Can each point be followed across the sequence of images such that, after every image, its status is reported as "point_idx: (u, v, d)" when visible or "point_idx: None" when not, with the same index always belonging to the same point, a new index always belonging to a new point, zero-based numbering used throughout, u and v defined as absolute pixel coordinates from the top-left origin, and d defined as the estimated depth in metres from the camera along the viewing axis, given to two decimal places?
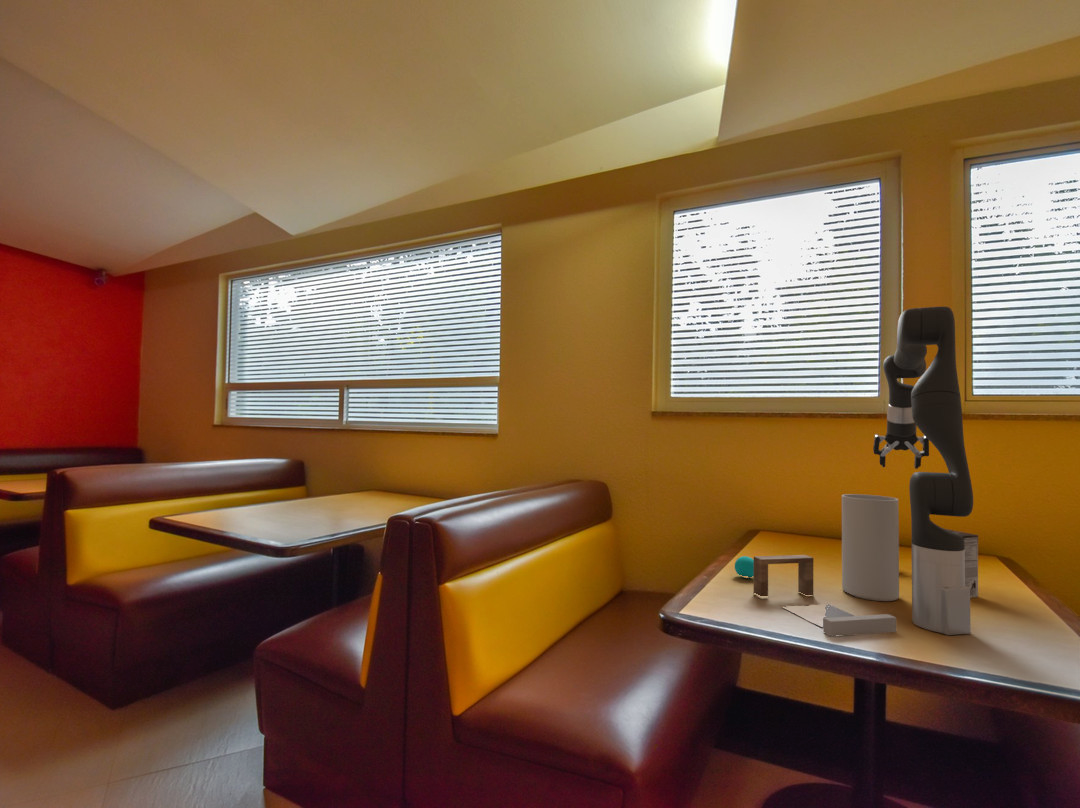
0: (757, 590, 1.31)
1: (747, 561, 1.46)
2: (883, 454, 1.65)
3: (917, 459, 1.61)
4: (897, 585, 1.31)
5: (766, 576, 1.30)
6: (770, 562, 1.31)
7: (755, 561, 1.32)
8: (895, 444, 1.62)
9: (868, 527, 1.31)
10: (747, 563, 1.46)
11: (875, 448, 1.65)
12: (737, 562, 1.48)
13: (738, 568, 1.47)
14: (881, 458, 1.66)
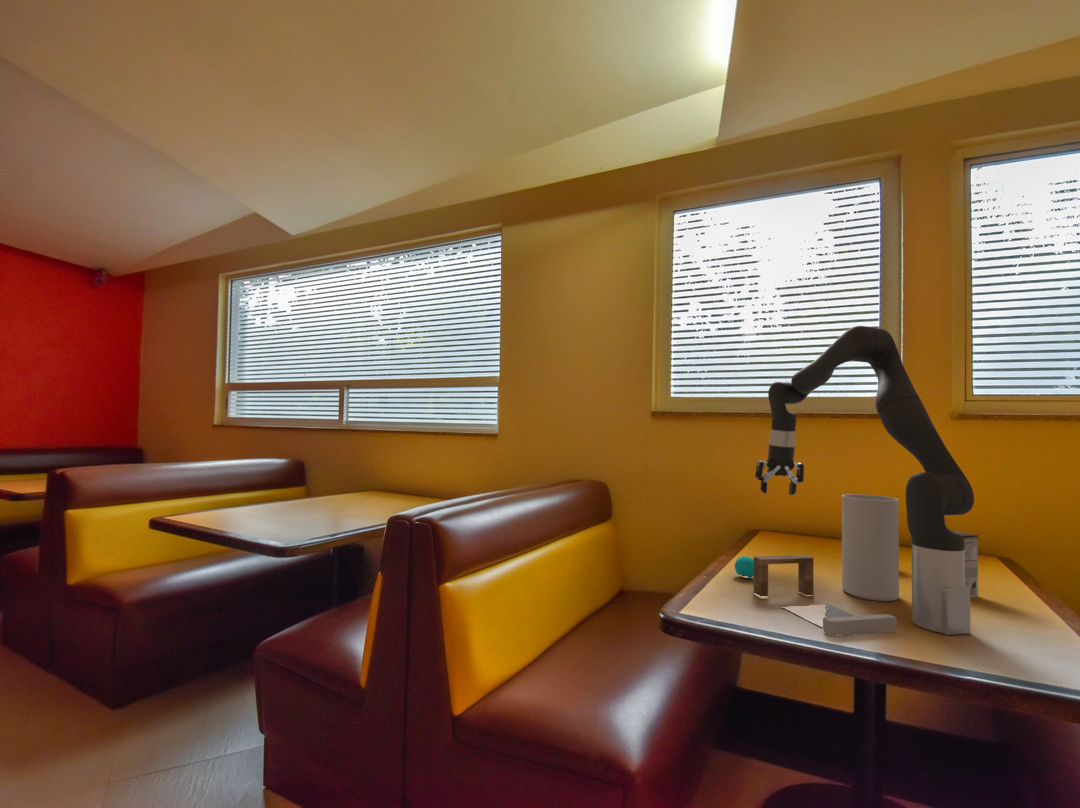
0: (757, 590, 1.31)
1: (747, 561, 1.46)
2: (765, 479, 1.67)
3: (793, 485, 1.67)
4: (897, 585, 1.31)
5: (766, 576, 1.30)
6: (770, 562, 1.31)
7: (755, 561, 1.32)
8: (777, 469, 1.66)
9: (868, 527, 1.31)
10: (747, 563, 1.46)
11: (759, 473, 1.67)
12: (737, 562, 1.48)
13: (738, 568, 1.47)
14: (763, 484, 1.68)
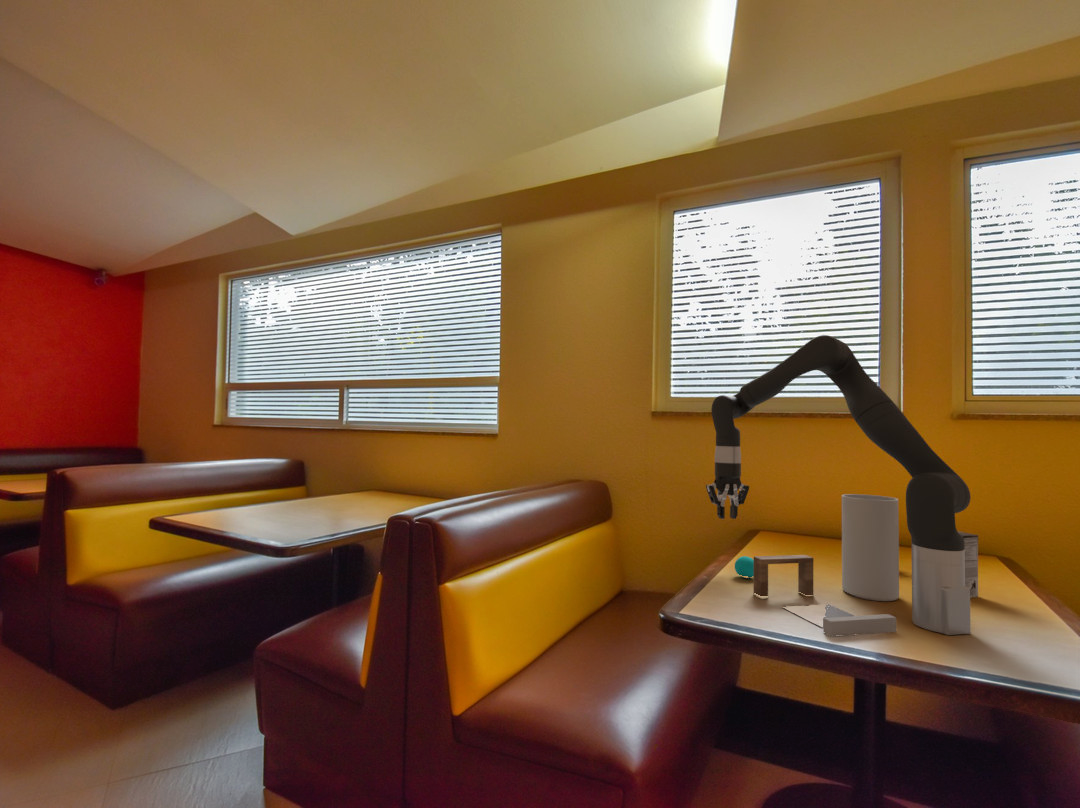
0: (757, 590, 1.31)
1: (747, 561, 1.46)
2: (722, 503, 1.57)
3: (735, 508, 1.58)
4: (897, 585, 1.31)
5: (766, 576, 1.30)
6: (770, 562, 1.31)
7: (755, 561, 1.32)
8: (727, 488, 1.57)
9: (868, 527, 1.32)
10: (747, 563, 1.46)
11: (714, 498, 1.56)
12: (737, 562, 1.48)
13: (738, 568, 1.47)
14: (720, 509, 1.57)
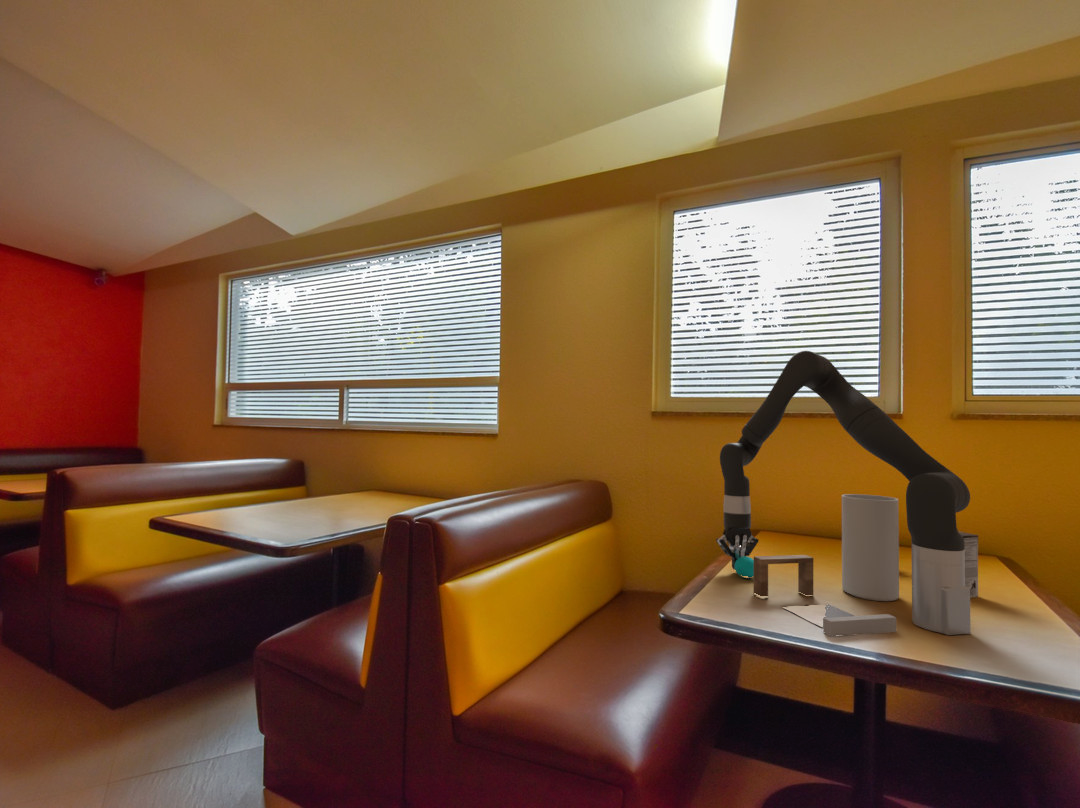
0: (757, 590, 1.31)
1: (747, 561, 1.46)
2: (737, 555, 1.52)
3: None
4: (897, 585, 1.31)
5: (766, 576, 1.30)
6: (770, 562, 1.31)
7: (755, 561, 1.32)
8: (737, 539, 1.52)
9: (868, 527, 1.31)
10: (747, 563, 1.46)
11: (728, 551, 1.52)
12: (737, 562, 1.48)
13: (738, 568, 1.47)
14: (735, 561, 1.52)
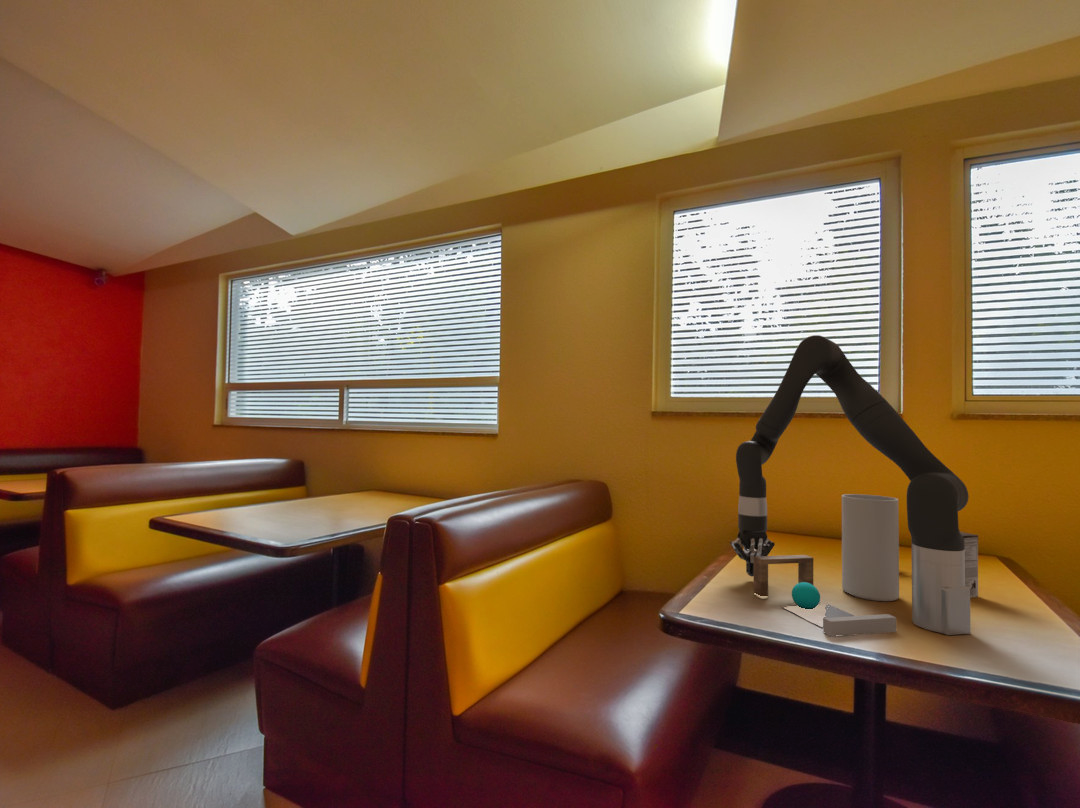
0: (757, 590, 1.31)
1: (807, 608, 1.22)
2: (752, 559, 1.44)
3: None
4: (897, 585, 1.31)
5: (766, 576, 1.30)
6: (770, 562, 1.31)
7: (755, 561, 1.32)
8: (753, 543, 1.44)
9: (868, 527, 1.31)
10: (806, 608, 1.22)
11: (743, 555, 1.44)
12: (799, 599, 1.22)
13: (794, 600, 1.23)
14: (750, 565, 1.45)
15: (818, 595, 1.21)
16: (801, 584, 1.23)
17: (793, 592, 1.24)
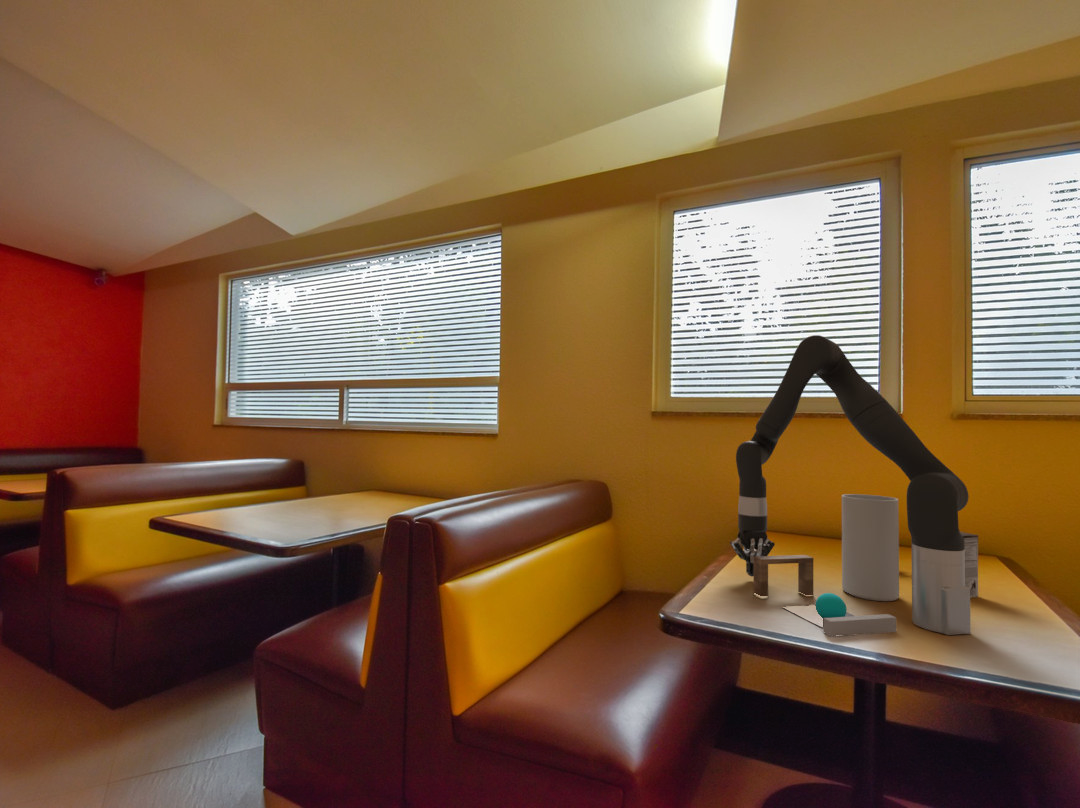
0: (757, 590, 1.31)
1: None
2: (752, 559, 1.44)
3: None
4: (897, 585, 1.31)
5: (766, 576, 1.30)
6: (770, 562, 1.31)
7: (755, 561, 1.32)
8: (753, 543, 1.44)
9: (868, 527, 1.31)
10: (821, 595, 1.17)
11: (743, 555, 1.44)
12: None
13: (818, 603, 1.15)
14: (750, 565, 1.45)
15: None
16: None
17: (821, 610, 1.14)
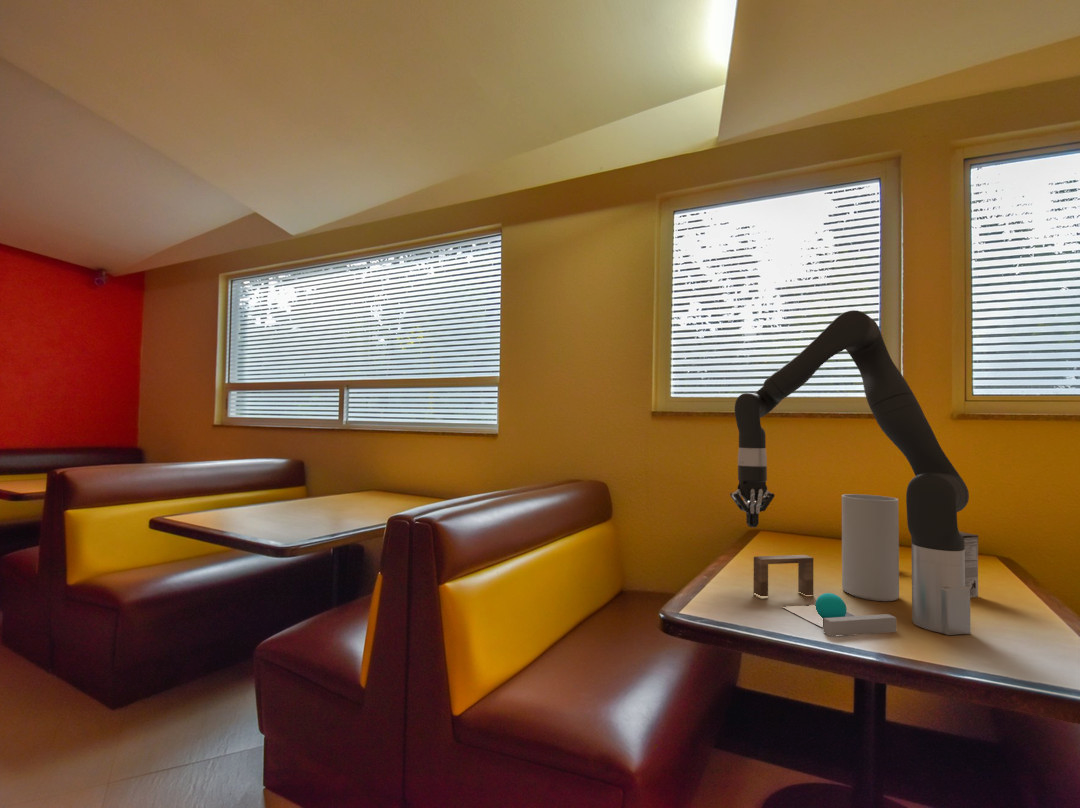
0: (757, 590, 1.31)
1: None
2: (752, 510, 1.45)
3: (756, 515, 1.45)
4: (897, 585, 1.31)
5: (766, 576, 1.30)
6: (770, 562, 1.31)
7: (755, 561, 1.32)
8: (753, 493, 1.44)
9: (868, 527, 1.31)
10: (821, 595, 1.17)
11: (743, 505, 1.44)
12: None
13: (818, 603, 1.15)
14: (750, 516, 1.45)
15: None
16: None
17: (821, 610, 1.14)
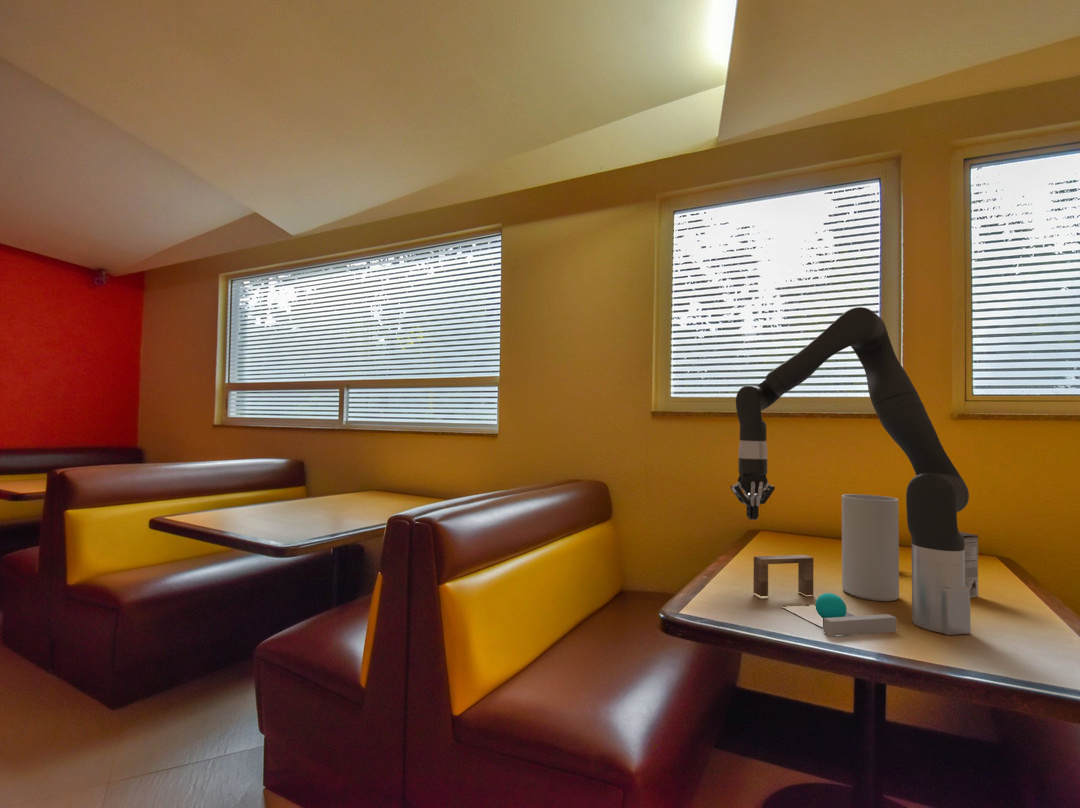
0: (757, 590, 1.31)
1: None
2: (752, 502, 1.45)
3: (756, 508, 1.45)
4: (897, 585, 1.31)
5: (766, 576, 1.30)
6: (770, 562, 1.31)
7: (755, 561, 1.32)
8: (753, 486, 1.45)
9: (868, 527, 1.31)
10: (821, 595, 1.17)
11: (743, 498, 1.45)
12: None
13: (818, 603, 1.15)
14: (750, 509, 1.45)
15: None
16: None
17: (821, 610, 1.14)
